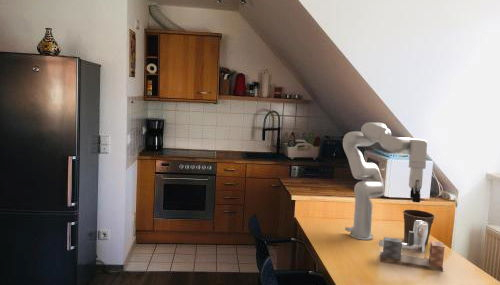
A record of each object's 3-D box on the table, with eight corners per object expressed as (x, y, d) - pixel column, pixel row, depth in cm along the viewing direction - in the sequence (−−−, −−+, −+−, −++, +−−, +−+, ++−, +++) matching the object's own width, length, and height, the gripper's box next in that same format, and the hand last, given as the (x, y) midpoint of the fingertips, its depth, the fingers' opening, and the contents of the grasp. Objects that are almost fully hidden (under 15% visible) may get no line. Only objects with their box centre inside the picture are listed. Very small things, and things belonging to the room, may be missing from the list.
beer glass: (425, 249, 212) (427, 221, 211) (426, 253, 206) (429, 225, 204) (411, 247, 214) (413, 219, 213) (411, 251, 208) (414, 223, 206)
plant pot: (432, 240, 227) (435, 212, 226) (432, 249, 213) (434, 219, 211) (401, 235, 234) (404, 207, 232) (399, 243, 219) (401, 214, 218)
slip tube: (379, 246, 195) (380, 228, 194) (379, 244, 198) (380, 226, 197) (421, 253, 189) (423, 234, 188) (421, 250, 192) (422, 232, 191)
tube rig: (380, 261, 192) (382, 239, 191) (380, 254, 201) (382, 233, 200) (442, 271, 184) (445, 248, 183) (439, 263, 193) (441, 241, 192)
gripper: (406, 162, 203) (404, 196, 205) (410, 166, 187) (408, 203, 188) (423, 163, 201) (420, 197, 203) (428, 167, 185) (425, 204, 186)
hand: (414, 200), depth 195 cm, fingers open, 9 cm apart
